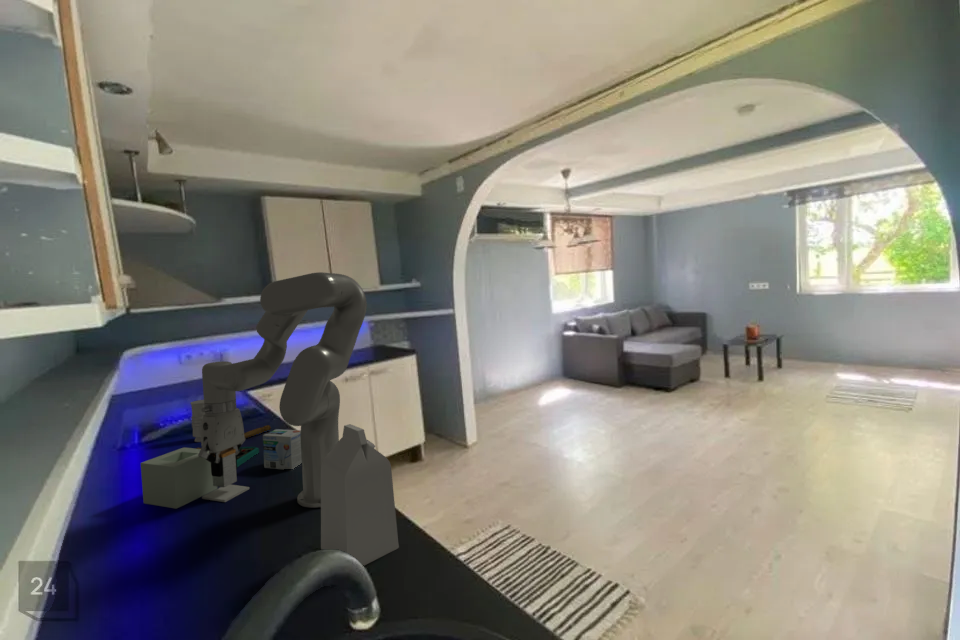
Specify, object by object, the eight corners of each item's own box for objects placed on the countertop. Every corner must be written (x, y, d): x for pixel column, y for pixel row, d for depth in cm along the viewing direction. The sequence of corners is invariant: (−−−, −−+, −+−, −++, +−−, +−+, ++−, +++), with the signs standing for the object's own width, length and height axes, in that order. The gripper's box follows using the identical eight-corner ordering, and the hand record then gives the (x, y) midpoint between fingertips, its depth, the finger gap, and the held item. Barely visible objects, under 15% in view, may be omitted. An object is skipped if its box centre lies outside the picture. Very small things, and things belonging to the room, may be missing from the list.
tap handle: (271, 424, 176) (196, 449, 149) (271, 432, 176) (197, 457, 149) (266, 424, 177) (191, 448, 150) (266, 431, 177) (191, 456, 150)
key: (224, 487, 116) (222, 454, 116) (212, 485, 118) (210, 453, 117) (237, 481, 120) (235, 448, 120) (225, 479, 122) (223, 447, 121)
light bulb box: (263, 468, 137) (261, 435, 136) (278, 460, 143) (276, 428, 143) (292, 470, 134) (290, 436, 134) (306, 462, 141) (304, 429, 140)
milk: (320, 548, 91) (314, 428, 90) (369, 527, 99) (364, 416, 98) (348, 573, 83) (341, 440, 81) (398, 547, 91) (393, 426, 89)
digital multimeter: (260, 453, 151) (260, 445, 151) (234, 471, 136) (233, 461, 136) (240, 454, 152) (239, 446, 151) (212, 471, 137) (211, 462, 137)
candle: (217, 438, 169) (214, 400, 168) (198, 443, 163) (195, 404, 162) (208, 435, 173) (205, 398, 172) (189, 440, 167) (186, 402, 166)
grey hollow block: (217, 488, 123) (215, 450, 122) (176, 508, 111) (173, 467, 111) (186, 484, 126) (183, 447, 126) (143, 503, 115) (140, 462, 114)
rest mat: (249, 489, 122) (249, 486, 122) (224, 502, 114) (224, 499, 114) (227, 486, 124) (227, 484, 124) (202, 498, 117) (202, 496, 117)
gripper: (202, 416, 109) (207, 487, 110) (255, 400, 125) (259, 462, 126) (181, 414, 111) (185, 483, 112) (235, 399, 127) (239, 460, 128)
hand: (224, 471), depth 119 cm, fingers closed on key, 4 cm apart
